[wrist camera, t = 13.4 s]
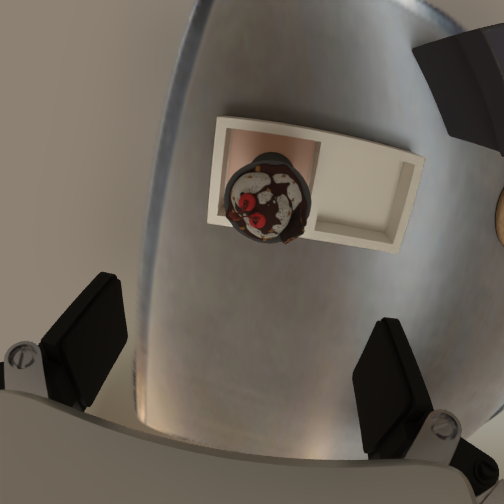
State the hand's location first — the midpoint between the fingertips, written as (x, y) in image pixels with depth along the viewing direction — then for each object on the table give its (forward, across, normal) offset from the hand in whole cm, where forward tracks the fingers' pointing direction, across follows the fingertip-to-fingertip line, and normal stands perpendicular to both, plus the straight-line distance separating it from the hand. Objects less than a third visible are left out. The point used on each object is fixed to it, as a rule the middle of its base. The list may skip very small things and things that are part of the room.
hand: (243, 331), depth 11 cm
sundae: (+25, 0, 0) cm, 25 cm away
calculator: (+26, -18, -14) cm, 34 cm away
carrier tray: (+26, -5, 0) cm, 26 cm away
